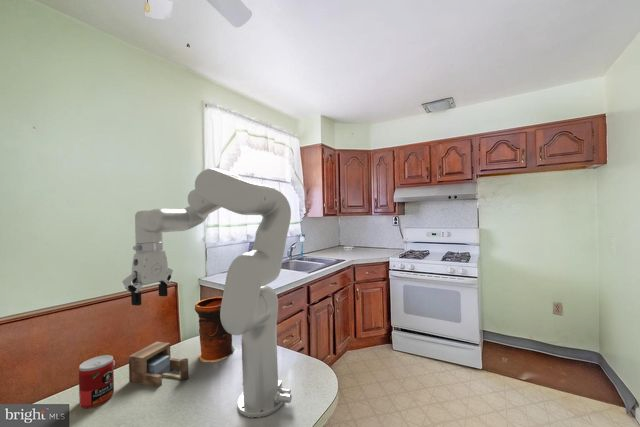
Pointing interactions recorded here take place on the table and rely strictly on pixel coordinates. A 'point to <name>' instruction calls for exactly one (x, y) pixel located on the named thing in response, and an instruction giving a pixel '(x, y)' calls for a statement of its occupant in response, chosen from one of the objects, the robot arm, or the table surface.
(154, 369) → the knob-handled block
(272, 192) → the robot arm
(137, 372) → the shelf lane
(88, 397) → the canned food
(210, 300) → the vessel
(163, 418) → the table surface
